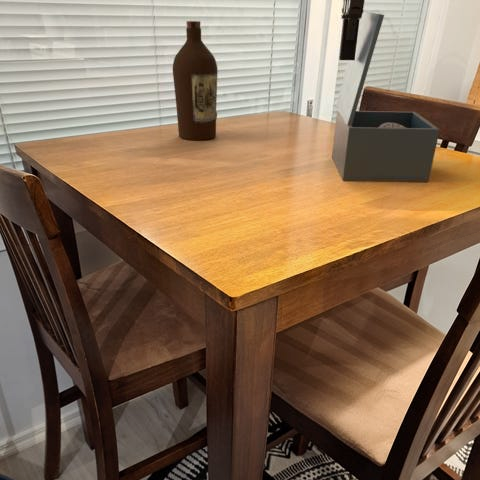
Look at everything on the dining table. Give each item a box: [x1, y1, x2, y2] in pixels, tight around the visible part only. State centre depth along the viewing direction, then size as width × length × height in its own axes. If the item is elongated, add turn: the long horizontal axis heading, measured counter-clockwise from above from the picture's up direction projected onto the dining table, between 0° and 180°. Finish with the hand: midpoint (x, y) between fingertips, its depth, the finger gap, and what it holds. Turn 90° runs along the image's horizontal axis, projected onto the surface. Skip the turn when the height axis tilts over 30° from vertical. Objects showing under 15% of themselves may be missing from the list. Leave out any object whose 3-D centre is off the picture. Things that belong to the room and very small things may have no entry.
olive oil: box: [172, 20, 218, 141], centre depth 119 cm, size 11×11×25 cm
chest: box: [331, 110, 441, 183], centre depth 100 cm, size 17×17×10 cm
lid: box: [334, 11, 385, 126], centre depth 93 cm, size 18×17×1 cm
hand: (346, 59), depth 92 cm, fingers closed
